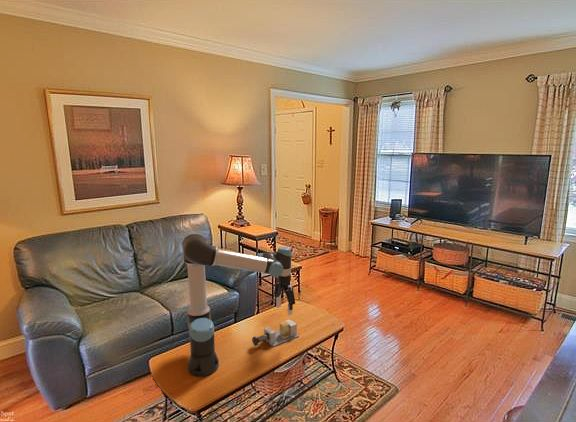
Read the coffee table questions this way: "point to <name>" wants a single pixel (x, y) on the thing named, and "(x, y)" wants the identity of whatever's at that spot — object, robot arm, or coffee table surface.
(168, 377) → the coffee table surface
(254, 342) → the shaft
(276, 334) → the grey bench vise
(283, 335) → the spacer
